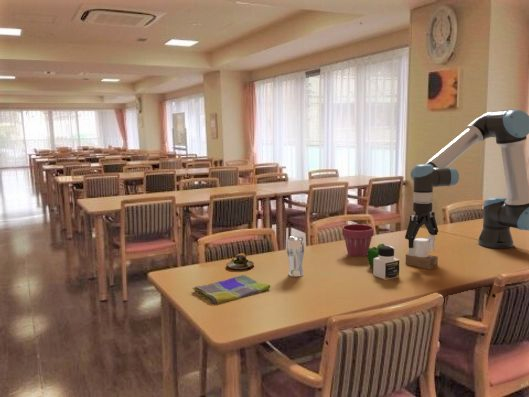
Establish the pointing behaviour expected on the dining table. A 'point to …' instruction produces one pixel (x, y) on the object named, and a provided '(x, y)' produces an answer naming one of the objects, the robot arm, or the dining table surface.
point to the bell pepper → (373, 254)
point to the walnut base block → (422, 261)
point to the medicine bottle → (386, 263)
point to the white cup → (422, 247)
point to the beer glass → (295, 255)
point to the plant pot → (357, 239)
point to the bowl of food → (240, 262)
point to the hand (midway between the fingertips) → (421, 252)
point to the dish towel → (231, 289)
